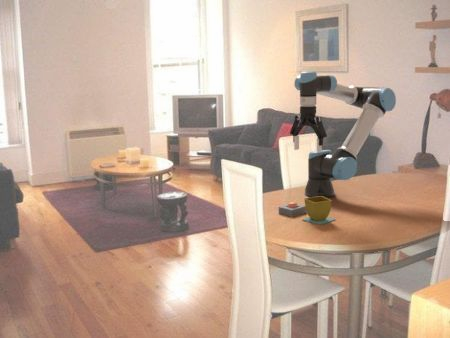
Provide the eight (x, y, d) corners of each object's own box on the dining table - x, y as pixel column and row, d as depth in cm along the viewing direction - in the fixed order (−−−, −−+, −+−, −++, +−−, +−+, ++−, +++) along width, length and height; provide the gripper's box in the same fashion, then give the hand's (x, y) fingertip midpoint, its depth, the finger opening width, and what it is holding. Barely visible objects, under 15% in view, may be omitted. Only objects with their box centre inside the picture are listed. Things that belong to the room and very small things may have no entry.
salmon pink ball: (292, 210, 247) (292, 201, 246) (298, 211, 244) (298, 203, 243) (286, 211, 244) (286, 203, 244) (292, 213, 241) (292, 204, 241)
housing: (293, 209, 250) (293, 202, 250) (306, 212, 244) (306, 205, 244) (278, 213, 244) (278, 206, 243) (291, 216, 238) (291, 210, 237)
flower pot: (314, 223, 226) (314, 202, 225) (303, 217, 234) (303, 198, 233) (331, 220, 230) (332, 200, 228) (320, 215, 238) (321, 195, 236)
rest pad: (316, 215, 239) (317, 214, 239) (335, 220, 231) (335, 219, 231) (302, 220, 232) (302, 219, 232) (320, 225, 225) (320, 224, 225)
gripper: (282, 105, 253) (282, 149, 257) (324, 107, 235) (324, 154, 239) (292, 104, 258) (292, 147, 262) (335, 106, 239) (334, 152, 244)
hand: (307, 151), depth 250 cm, fingers open, 13 cm apart
